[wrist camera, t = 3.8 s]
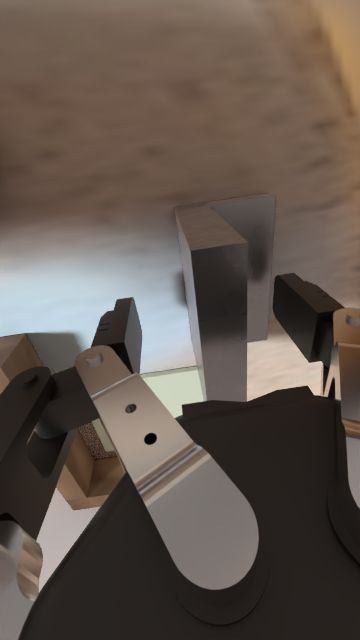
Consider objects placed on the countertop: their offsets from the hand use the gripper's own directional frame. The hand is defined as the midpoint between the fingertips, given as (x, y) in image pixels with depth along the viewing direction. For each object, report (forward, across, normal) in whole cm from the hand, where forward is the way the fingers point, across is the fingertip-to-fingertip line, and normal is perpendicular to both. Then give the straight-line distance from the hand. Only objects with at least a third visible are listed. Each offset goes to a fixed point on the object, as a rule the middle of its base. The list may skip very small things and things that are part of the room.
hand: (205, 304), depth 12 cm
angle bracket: (+3, -2, 0) cm, 3 cm away
